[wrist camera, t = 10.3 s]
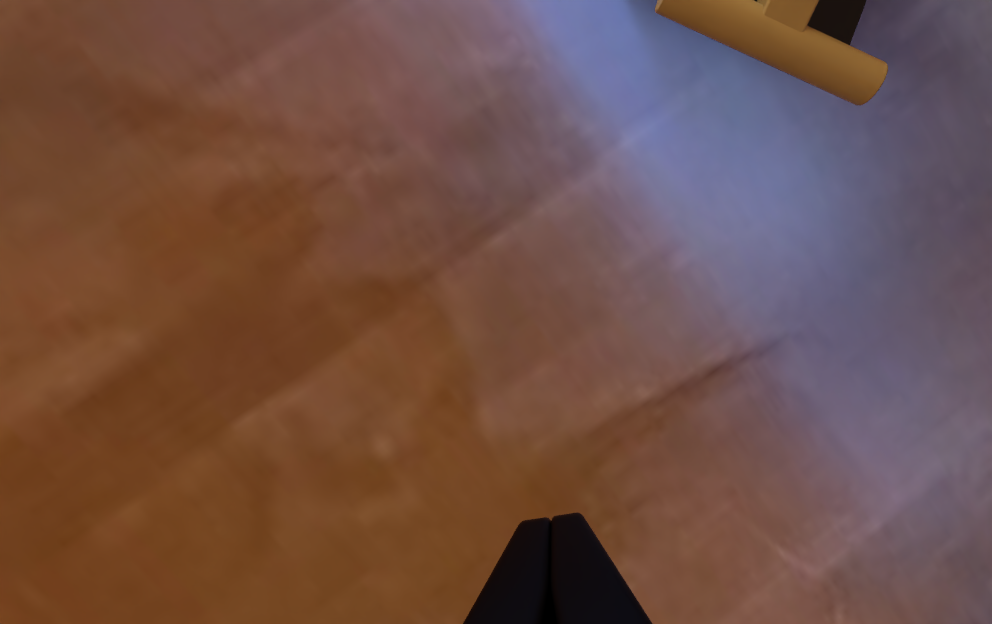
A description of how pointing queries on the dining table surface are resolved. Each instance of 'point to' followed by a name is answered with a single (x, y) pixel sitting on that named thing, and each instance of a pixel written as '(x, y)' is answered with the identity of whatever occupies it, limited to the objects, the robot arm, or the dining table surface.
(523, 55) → the dining table surface
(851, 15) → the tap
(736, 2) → the tap lever
